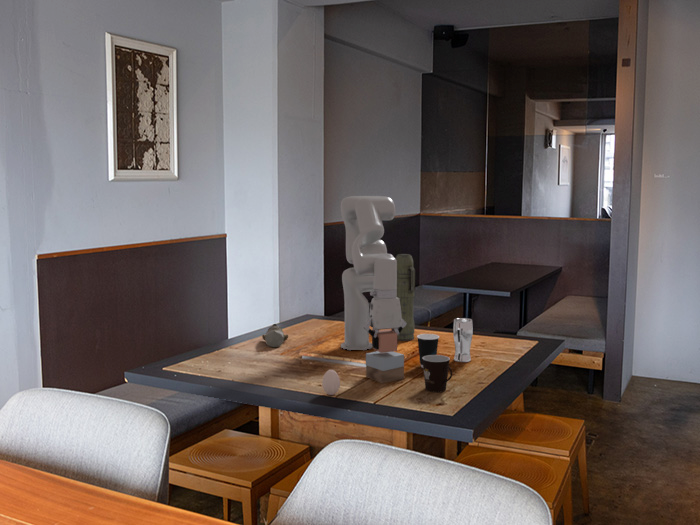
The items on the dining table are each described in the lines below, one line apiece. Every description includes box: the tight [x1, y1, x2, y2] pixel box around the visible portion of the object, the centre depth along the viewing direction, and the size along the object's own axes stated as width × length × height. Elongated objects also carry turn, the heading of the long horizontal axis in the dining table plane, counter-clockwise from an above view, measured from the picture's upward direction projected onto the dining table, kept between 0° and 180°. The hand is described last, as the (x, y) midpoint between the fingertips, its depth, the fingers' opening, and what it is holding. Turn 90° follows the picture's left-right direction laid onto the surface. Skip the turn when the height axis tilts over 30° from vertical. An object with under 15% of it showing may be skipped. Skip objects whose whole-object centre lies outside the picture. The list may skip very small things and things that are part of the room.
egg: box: [321, 369, 341, 396], centre depth 220 cm, size 6×6×8 cm
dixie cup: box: [416, 333, 440, 369], centre depth 251 cm, size 8×8×11 cm
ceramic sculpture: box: [261, 323, 289, 348], centre depth 286 cm, size 11×9×15 cm
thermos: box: [395, 253, 416, 342], centre depth 294 cm, size 9×12×35 cm
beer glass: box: [452, 317, 474, 363], centre depth 260 cm, size 7×7×15 cm
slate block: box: [365, 350, 405, 371], centre depth 238 cm, size 9×9×4 cm
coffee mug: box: [422, 354, 453, 393], centre depth 223 cm, size 12×9×10 cm
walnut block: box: [365, 364, 405, 384], centre depth 238 cm, size 9×9×4 cm
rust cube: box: [372, 329, 398, 353], centre depth 237 cm, size 6×6×6 cm
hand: (384, 347), depth 237 cm, fingers closed on rust cube, 6 cm apart
